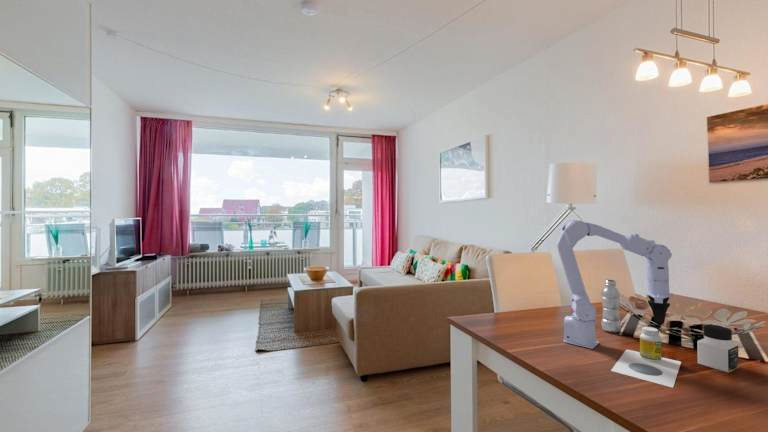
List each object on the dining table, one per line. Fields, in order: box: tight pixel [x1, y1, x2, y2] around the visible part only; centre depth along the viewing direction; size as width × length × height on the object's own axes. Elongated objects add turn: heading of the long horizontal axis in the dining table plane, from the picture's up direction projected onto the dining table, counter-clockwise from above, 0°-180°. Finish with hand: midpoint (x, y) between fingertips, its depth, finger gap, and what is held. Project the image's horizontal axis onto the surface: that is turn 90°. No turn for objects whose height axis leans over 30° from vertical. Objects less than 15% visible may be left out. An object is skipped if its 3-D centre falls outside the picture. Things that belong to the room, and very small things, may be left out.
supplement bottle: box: [639, 326, 662, 362], centre depth 107 cm, size 5×5×10 cm
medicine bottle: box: [696, 323, 740, 374], centre depth 102 cm, size 7×7×12 cm
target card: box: [610, 349, 682, 388], centre depth 102 cm, size 14×22×1 cm, turn 134°
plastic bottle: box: [600, 279, 622, 333], centre depth 132 cm, size 6×7×20 cm
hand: (659, 320), depth 113 cm, fingers open, 7 cm apart
